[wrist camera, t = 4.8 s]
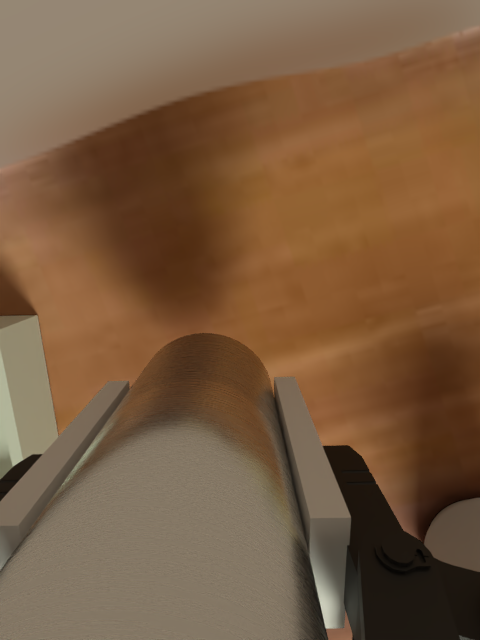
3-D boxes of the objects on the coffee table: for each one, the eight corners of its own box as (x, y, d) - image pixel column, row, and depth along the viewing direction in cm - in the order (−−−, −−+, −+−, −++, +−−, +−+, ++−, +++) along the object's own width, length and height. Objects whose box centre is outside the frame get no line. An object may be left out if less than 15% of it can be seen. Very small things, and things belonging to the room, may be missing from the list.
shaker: (146, 455, 15) (-193, 1261, 3) (134, 334, 14) (-523, 948, 2) (272, 452, 15) (399, 1249, 3) (272, 331, 14) (486, 928, 2)
